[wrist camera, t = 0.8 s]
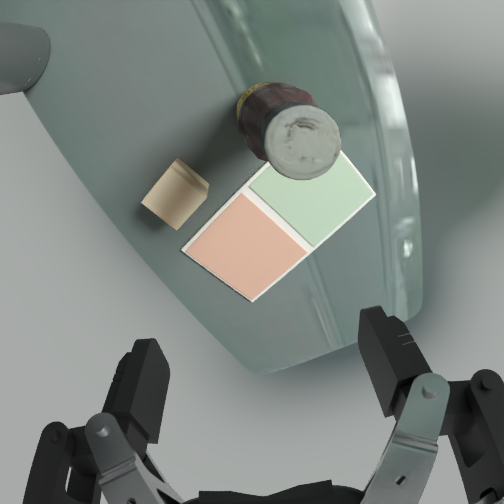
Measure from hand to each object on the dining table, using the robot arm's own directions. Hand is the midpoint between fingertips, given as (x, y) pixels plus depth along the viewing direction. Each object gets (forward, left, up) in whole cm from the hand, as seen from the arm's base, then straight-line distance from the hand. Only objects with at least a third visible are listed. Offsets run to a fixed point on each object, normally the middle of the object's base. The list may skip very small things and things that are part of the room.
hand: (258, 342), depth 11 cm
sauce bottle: (-3, +7, -27) cm, 28 cm away
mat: (+8, -1, -26) cm, 28 cm away
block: (-4, -6, -27) cm, 27 cm away
